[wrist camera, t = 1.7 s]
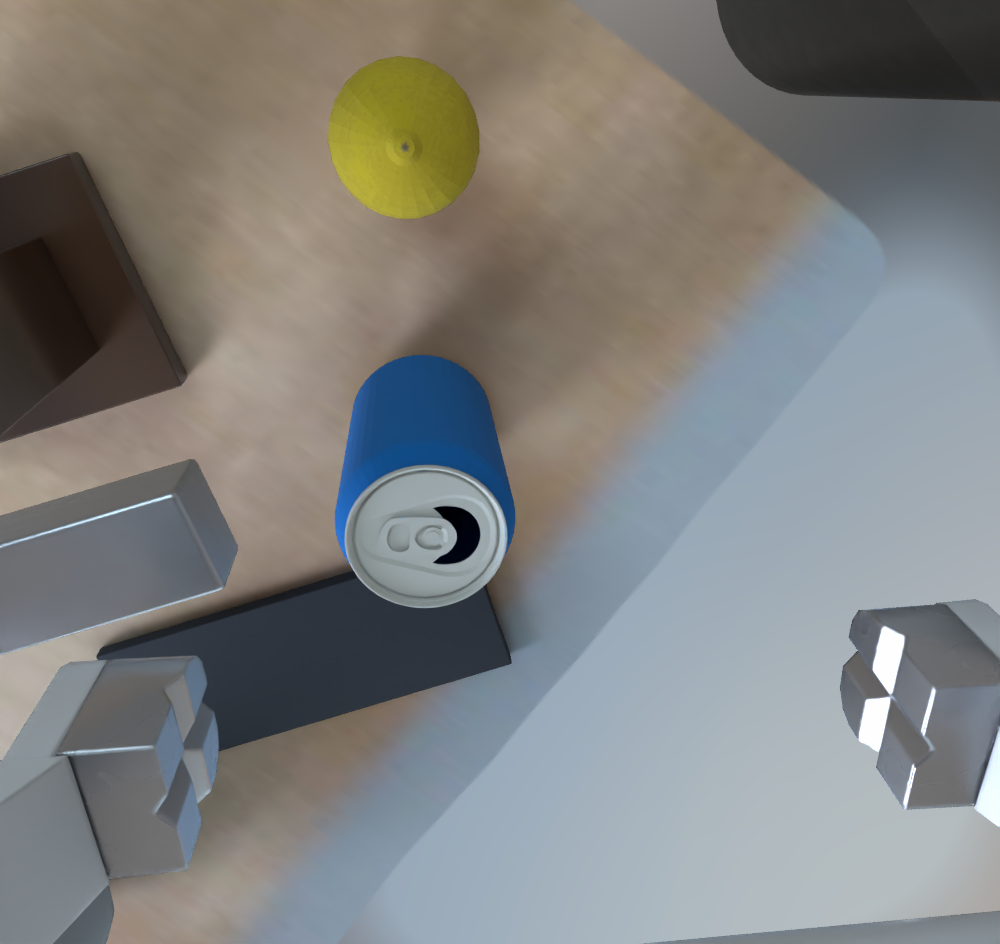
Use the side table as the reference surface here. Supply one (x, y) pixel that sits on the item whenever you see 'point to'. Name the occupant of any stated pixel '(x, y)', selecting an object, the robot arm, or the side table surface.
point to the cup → (91, 922)
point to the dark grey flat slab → (323, 654)
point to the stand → (70, 305)
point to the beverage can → (423, 485)
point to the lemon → (403, 137)
